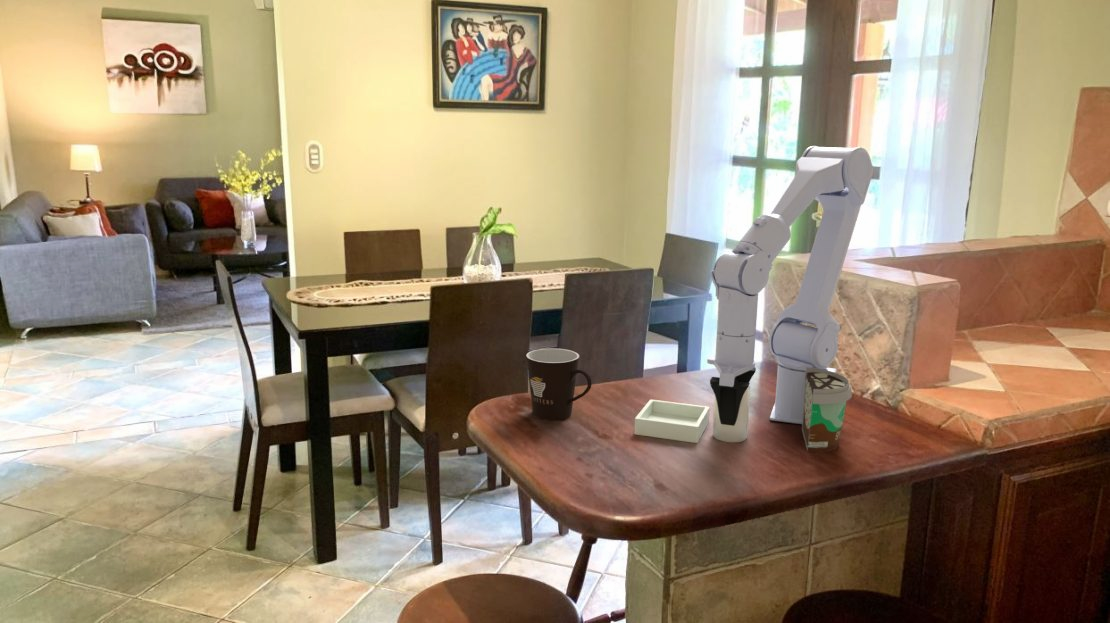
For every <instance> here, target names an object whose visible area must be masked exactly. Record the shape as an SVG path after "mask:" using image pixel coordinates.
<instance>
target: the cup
mask: <svg viewBox="0 0 1110 623" xmlns="http://www.w3.org/2000/svg"><path fill="white" fill-rule="evenodd" d="M750 397H751V386H750V385H749V386H748V388H747V390H746V391H745V393H744V395H743V397H742V400H741V404H740V408H739V413H738V417H737V420H736V423H735V425H734V426H732V425H724V424H721V422H720V418H719V411H718V405H717V400H716V397H715V396H714V405H713V406H714V408H713V423H712V436H713V438H714V439H716V440H718V441H722V442H726V443H740V442H745V441H746V440H747V439H748V427H749V414H750V413H749V410H750V400H751V399H750Z"/></svg>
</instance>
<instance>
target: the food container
mask: <svg viewBox="0 0 1110 623" xmlns="http://www.w3.org/2000/svg"><path fill="white" fill-rule="evenodd" d="M852 397H853V394H852V387H851V384H850V382H849V379H848V378H847V377H846V376H844V375H842V374H840V373H837V372H836V373H835V372H831V371H828V370H823V369H817V368H807V367H806V374H805V393H804V407H803V422H802V424H801V431H802V436H803V439H804V443H805V448H806V451H807V453H826V452H831V451H834V450H836V449H837V448H838V447H839V444H840V440H841V435H842V434H841V433H842V428H843V421H844V418H845V410H846V405H847V401H849V400H851V398H852Z"/></svg>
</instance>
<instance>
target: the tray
mask: <svg viewBox="0 0 1110 623" xmlns="http://www.w3.org/2000/svg"><path fill="white" fill-rule="evenodd" d="M710 409H711V408H710V406H707V405H697V404H689V403H683V402H673V401H666V400H660V399H659V400H658V399H649V401H648V402H646V404H645V406H643V408H642V409H641V410H640V412H639V413H638V414H637V415H636V416H635V417H634V435H638V436H645V437H651V438H658V439H659V438H660V439H665V440H671V441H681V442H685V443H687V442H688V443H692V444H693V443H695V444H698V443H699V441H700V440H701V437H702V435H703V433H704V431H705V430H706V428H707V426H708V425H709V423H710V412H711V411H710Z"/></svg>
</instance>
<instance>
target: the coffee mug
mask: <svg viewBox="0 0 1110 623" xmlns="http://www.w3.org/2000/svg"><path fill="white" fill-rule="evenodd" d="M525 356H526V364H527V365H526V366H527V373H528V382H529V384H528V385H529V390H530V392H529V393H530V400H531V409H532V415H533V416H534V417H535V416H536V417H535V418H537V417H538V418H537V419H539V418H541V419H540V420H544V419H545V420H544V421H562V420H566V419H568V418H570V417H571V416H572V412H573V405H574V402H575V401H577V400H579V399H581V398H583V397H584V396H586V395H587V394H588V393H589V391H590V390H591V388H592V378H591V376H590V374H589V373H588V372H587V371H585V370H584V369H580V368H579V359H580V354H579V353H578V352H575V351H573V350H570V349H565V348H541V349H540V348H538V349H535V350H531V351H528V352H527V353H526V355H525ZM578 368H579V369H578ZM577 374H581V375H583V376H584V377H585V379H586V381H587V387H586V389H584V391H583V392H581V393H580V394H577V395H575V389H576V388H575V387H576V382H577ZM546 419H547V420H546ZM561 419H562V420H561Z"/></svg>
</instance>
